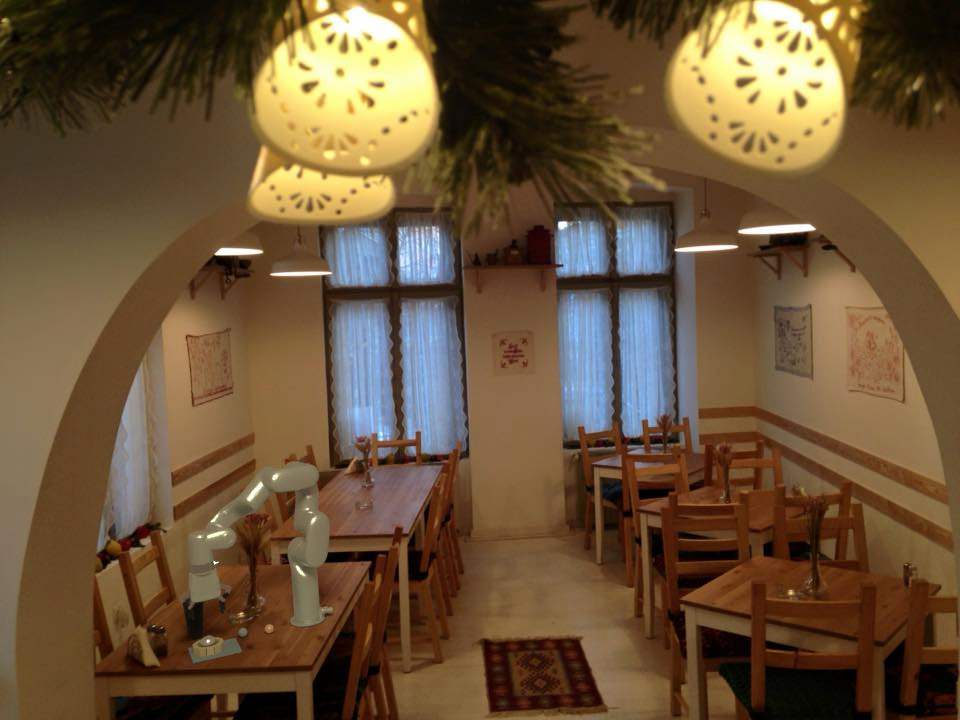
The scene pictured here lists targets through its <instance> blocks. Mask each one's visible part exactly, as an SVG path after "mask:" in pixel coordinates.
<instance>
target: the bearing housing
mask: <svg viewBox="0 0 960 720" xmlns="http://www.w3.org/2000/svg"><path fill="white" fill-rule="evenodd" d="M213 637H214V636H213ZM214 638H215V641H216V644H215V645H213V646H209V647H201V645H200V643H201V640H202V638H200V639H198V640H197V641H196V642H194V643H192V647H188V648H187V651H188V653H189V657H190V660H191V662H192V664H197V663H201V662H204V661H209V660H212V659H218V658H222V657H228V656H230V655H235V653H236V654H241V653H243V651H242V647H241V646H240V644H239V642H238V640H237V638H236V637H233V638H229V639H225V640H224V638H223V637H217V636H216V637H214ZM240 652H241V653H240Z"/></svg>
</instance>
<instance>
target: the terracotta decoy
mask: <svg viewBox="0 0 960 720" xmlns="http://www.w3.org/2000/svg"><path fill="white" fill-rule="evenodd" d="M274 629H275V627H274V625H273V624H266V625H265V627H264V632H265V633H266V634H269V635H270V634H272V633H273V632H274V631H275V630H274Z"/></svg>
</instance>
